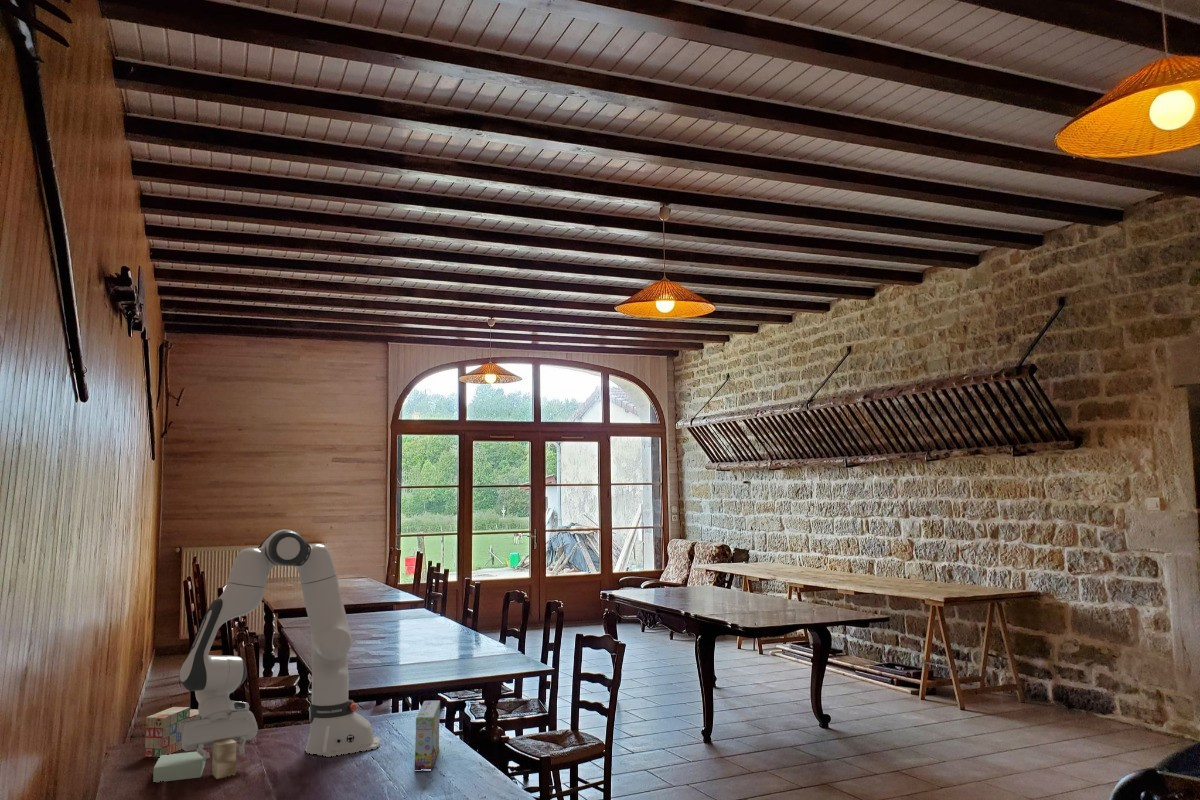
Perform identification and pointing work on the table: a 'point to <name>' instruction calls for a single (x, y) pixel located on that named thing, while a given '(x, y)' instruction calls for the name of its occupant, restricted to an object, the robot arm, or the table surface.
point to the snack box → (427, 735)
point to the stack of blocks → (166, 730)
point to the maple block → (224, 758)
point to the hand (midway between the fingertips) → (224, 756)
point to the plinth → (178, 767)
